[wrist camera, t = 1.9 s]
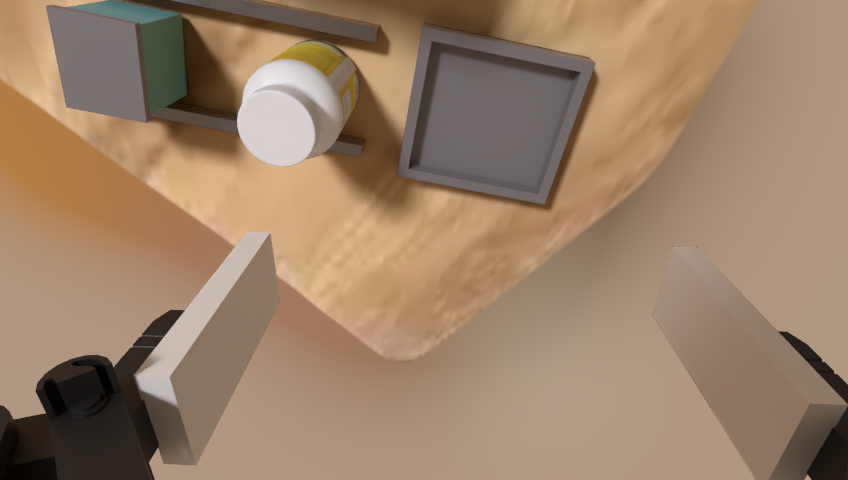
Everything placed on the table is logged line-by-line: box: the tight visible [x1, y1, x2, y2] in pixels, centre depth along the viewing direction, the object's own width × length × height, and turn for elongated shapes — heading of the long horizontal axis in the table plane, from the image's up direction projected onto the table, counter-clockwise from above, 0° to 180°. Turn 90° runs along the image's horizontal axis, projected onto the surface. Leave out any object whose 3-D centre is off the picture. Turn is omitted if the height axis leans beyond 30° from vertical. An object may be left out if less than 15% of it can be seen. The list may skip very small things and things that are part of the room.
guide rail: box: [151, 0, 380, 157], centre depth 37 cm, size 10×21×2 cm, turn 79°
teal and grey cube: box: [46, 0, 187, 123], centre depth 34 cm, size 6×5×6 cm
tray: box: [397, 23, 595, 205], centre depth 38 cm, size 12×13×2 cm
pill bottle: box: [237, 40, 360, 167], centre depth 33 cm, size 6×6×12 cm
